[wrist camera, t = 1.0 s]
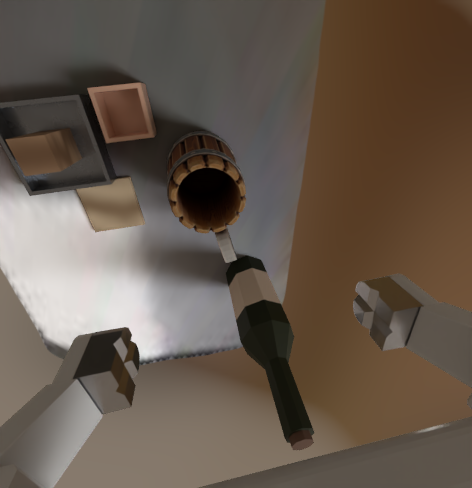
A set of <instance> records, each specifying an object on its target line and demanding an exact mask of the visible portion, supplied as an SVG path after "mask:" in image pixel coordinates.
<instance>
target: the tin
mask: <svg viewBox="0 0 472 488" xmlns="http://www.w3.org/2000/svg"><path fill="white" fill-rule="evenodd" d="M64 128H70V130H71V133H72V135H73V137H74V140H75V142H76V145H77V147H78V150H79V152H80V155H81V157H82V159H81V160H79V161H77V162H76V163H74V164H72V165H71V166H69V167H67V168H66V169H64V170H62V171H60V172H53V173H45V174H38V175H30V176H25V175H24V173H23V171H22V170H21V168H20V166H19V164H18V162H17V160H16V159H15V157H14V155H13V153H12V151H11V149H10V148H9V146H8V144H7V142H6V139H10V138H14V137H18V136H22V135H26V134H30V133H34V132H38V131H47V130H55V129H64ZM0 143H1V145H2V147H3V149H4V150H5V152H6V154H7V156H8V158H9V159H10V161H11V163H12V165H13V166H14V168H15V170H16V172H17V174H18V175H19V177H20V179H21V181H22V182H23V184H24V186H25V188H26V190H27V191H28V193H29V195H30V196H32V195H39V194H46V193H53V192H60V191H67V190H74V189H82V188H89V187H96V186H103V185H110V184H112V183H113V182H114V181H115V180H116V179H117V177H116V175H115V172H114V169H113V166H112V163H111V160H110V158H109V155H108V152H107V149H106V146H105V143H104V141H103V138H102V135H101V132H100V129H99V126H98V124H97V121H96V118H95V115H94V112H93V109H92V106H91V104H90V101H89V98H88V95H69V96H60V97H50V98H41V99H31V100H22V101H12V102H3V103H0Z"/></svg>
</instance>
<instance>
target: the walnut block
mask: <svg viewBox="0 0 472 488" xmlns="http://www.w3.org/2000/svg"><path fill="white" fill-rule="evenodd" d="M6 142H7V144H8V146H9V148H10V149H11V151H12V153H13V155H14V157H15V159H16V160H17V162H18V164H19V166H20V168H21V170H22V171H23V173H24V175H25V176H30V175H38V174H45V173H53V172H60V171H62V170H64V169H66V168H67V167H69V166H71V165H72V164H74V163H76V162H77V161H79V160H81V159H82V157H81V155H80V152H79V150H78V147H77V145H76V142H75V140H74V137H73V135H72V133H71V130H70V128H64V129H55V130H47V131H38V132H34V133H30V134H26V135H22V136H18V137H14V138H10V139H6Z"/></svg>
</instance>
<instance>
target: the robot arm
mask: <svg viewBox="0 0 472 488" xmlns="http://www.w3.org/2000/svg"><path fill="white" fill-rule="evenodd" d="M356 291H357V293H358V294H359V295H358V296H357V297H356V298H355V299H354V304H353V309H354V313H355V316H356V318H357V319H358V321H359V322H360V323H361V325H362V326H364V327H366V328H368V329H370V336H371V337H372V339H373V340H374V341H375V342H376V344H377V345H378V346H379V347H380V349H381V350H382V351H385V350H390V349H395V348H400V347H405V346H406V348H407V349H409V350H410V351H412V352H414V353H415V354H417V355H419V356H420V357H422V358H424V359H425V360H427V361H429V362H430V363H432V364H434V365H435V366H437V367H438V368H440V369H442V370H443V371H445V372H447V373H448V374H450V375H451V376H453V377H455V378H456V379H458V380H460V381H461V382H463V383H465V384H466V385H468V386H469V387H471V388H472V312H470V311H467V310H464V309H461V308H459V307H456V306H453V305H450V304H447V303H445V302H444V303H439V302H437V301H436V300H435V299H434V298H432V297H431V296H430V295H429V294H427V293H426V292H425V291H423V290H422V289H421V288H420V287H418V286H417V285H416V284H414V283H413V282H412V281H411V280H409V279H408V278H407V277H405V276H404V275H401V274H395V275H390V276H386V277H381V278H376V279H371V280H366V281H361V282H359V283H358V284H357V287H356ZM131 336H132V334H131V332H130V330H129V328H126V327H124V328H118V329H112V330H106V331H100V332H95V333H91V334H85V335H79V336H78V337H76V338H75V339H74V341H73V343H72V345H71V347H70V349H69V351H68V353H67V355H66V357H65V359H64V361H63V363H62V365H61V367H60V369H59V371H58V373H57V375H56V377H55V379H54V381H53V383H52V384H50V385H46V386H45V387H44V388H43V389H42V390H41V391H40V392H38V393H37V394H36V395H35V396H34V397H33V398H32V399H31V400H30V401H29V402H28V403H26V404H25V405H24V406H23V407H22V408H21V409H20V410H19V411H18V412H17V413H15V414H14V415H13V416H12V417H11V418H10V419H9V420H8V421H7V422H5V423H4V424H3V425H2V426H1V427H0V488H53V487H54V486H55V484H56V483H57V481H58V480H59V479H60V477H61V476H62V474H63V473H64V471H65V470H66V469H67V467H68V466H69V464H70V463H71V461H72V460H73V458H74V457H75V455H76V454H77V453H78V451H79V450H80V448H81V447H82V446H83V444H84V442H85V441H86V440H87V438H88V437H89V435H90V434H91V433H92V431H93V430H94V428H95V427H96V425H97V424H98V422H99V421H100V419H101V418H102V417H103V415H102V414H106V413H110V412H114V411H118V410H122V409H126V408H130V407H131V406H132V401H133V396H134V391H135V384H134V382H133V380H132V379H133V378H134V377H135V376H136V374H137V373H138V369H139V351H138V348H137V345H136V343H134V342H132V341H130V340H131ZM467 405H469V407H470V408H471V409H472V393H471V395H470V396H469V398H468V404H467ZM199 488H472V417H469V418H465V419H461V420H457V421H453V422H449V423H446V424H442V425H438V426H434V427H430V428H426V429H423V430H419V431H415V432H411V433H407V434H403V435H399V436H396V437H391V438H388V439H384V440H380V441H376V442H372V443H369V444H365V445H361V446H357V447H353V448H349V449H345V450H341V451H337V452H334V453H330V454H326V455H322V456H318V457H314V458H311V459H307V460H303V461H299V462H295V463H291V464H287V465H283V466H280V467H276V468H272V469H269V470H265V471H260V472H256V473H253V474H249V475H245V476H241V477H237V478H233V479H230V480H226V481H222V482H218V483H214V484H210V485H207V486H203V487H199Z"/></svg>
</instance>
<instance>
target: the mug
mask: <svg viewBox="0 0 472 488" xmlns="http://www.w3.org/2000/svg"><path fill="white" fill-rule="evenodd" d="M167 175H168V180H167V196H168V200H169V203H170V206H171V209H172V212H173V213H174V215H175V216H176V217H179V221H180V222H181V223H182V224H183V225H184V226H186V227H187V228H189V229H191V228H195V231H197V232H200V233H208V232H209V231H210V230H212V231H213V232H215V235H216V238H217V241H218V244H219V247H220V250H221V253H222V255H223V258H224V260H225V262H226V263H229V262H232V261H235V260H237V258H236V254H235V251H234V248H233V245H232V241H231V238H230V235H229V232H228V229H227V225H232V224H234V223H235V222H236V220H237V219H238V218H239V212H242V211H243V209H244V207H245V202H246V198H245V194H246V189H245V181H244V179H243V176H242V174H241V171H240V169H239V167H238V166H237V163H236V159H235V157H234V154H233V152H232V149H231V148H230V147H229V145H228V144H227V143H226V142H225V141H224V140H223V139H222V138H220V137H219V136H217V135H215V134H212V133H210V132H204V131H197V132H191V133H188V134H186V135H184V136H182V137H181V138H179V139H178V140H177V141H176V142H175V143H174V144H173V146H172V148H171V150H170V151H169V154H168V158H167Z"/></svg>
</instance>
